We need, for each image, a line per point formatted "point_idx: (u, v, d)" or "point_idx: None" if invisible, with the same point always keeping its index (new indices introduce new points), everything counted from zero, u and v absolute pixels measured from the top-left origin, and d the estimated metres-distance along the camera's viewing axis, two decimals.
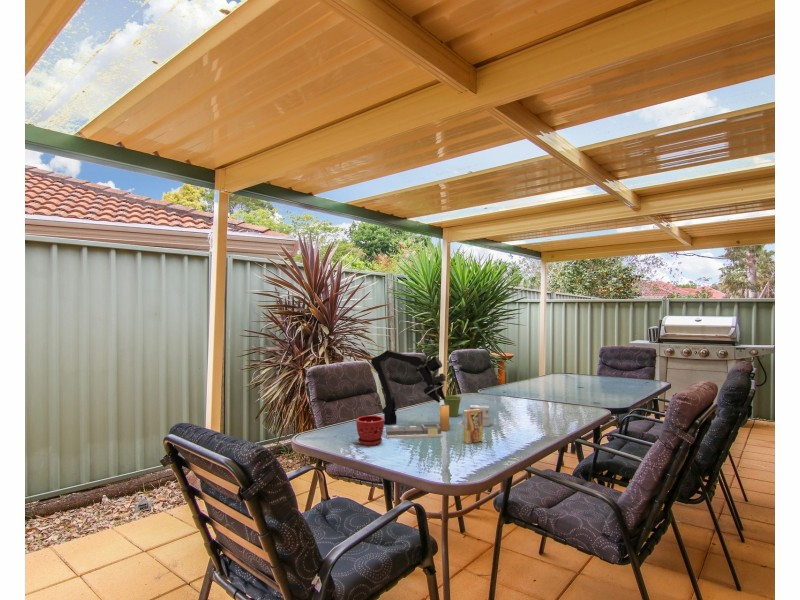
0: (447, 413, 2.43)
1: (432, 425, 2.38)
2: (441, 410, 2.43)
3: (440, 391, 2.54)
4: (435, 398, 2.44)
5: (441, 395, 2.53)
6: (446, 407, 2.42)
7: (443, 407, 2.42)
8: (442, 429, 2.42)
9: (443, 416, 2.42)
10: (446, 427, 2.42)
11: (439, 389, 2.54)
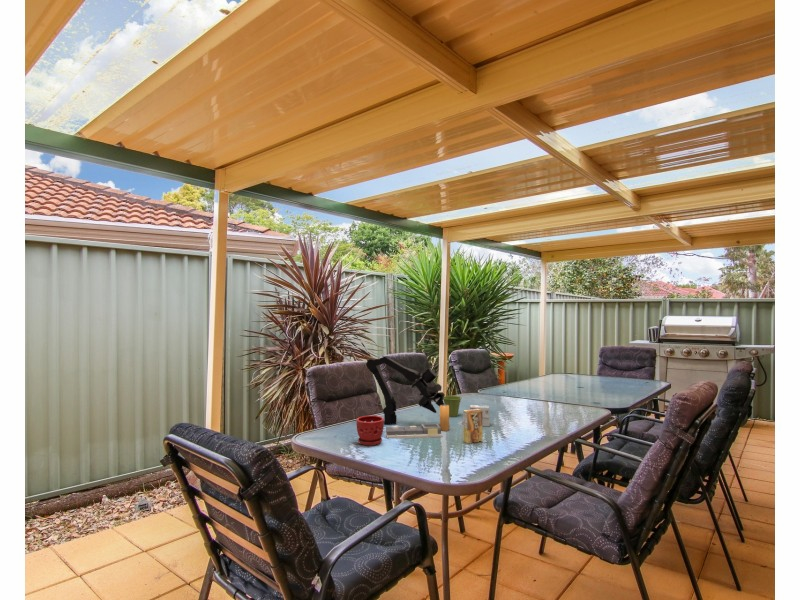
0: (447, 413, 2.43)
1: (432, 425, 2.38)
2: (441, 410, 2.43)
3: (440, 402, 2.52)
4: (431, 409, 2.43)
5: None
6: (446, 407, 2.42)
7: (443, 407, 2.42)
8: (442, 429, 2.42)
9: (443, 416, 2.42)
10: (446, 427, 2.42)
11: (439, 400, 2.53)
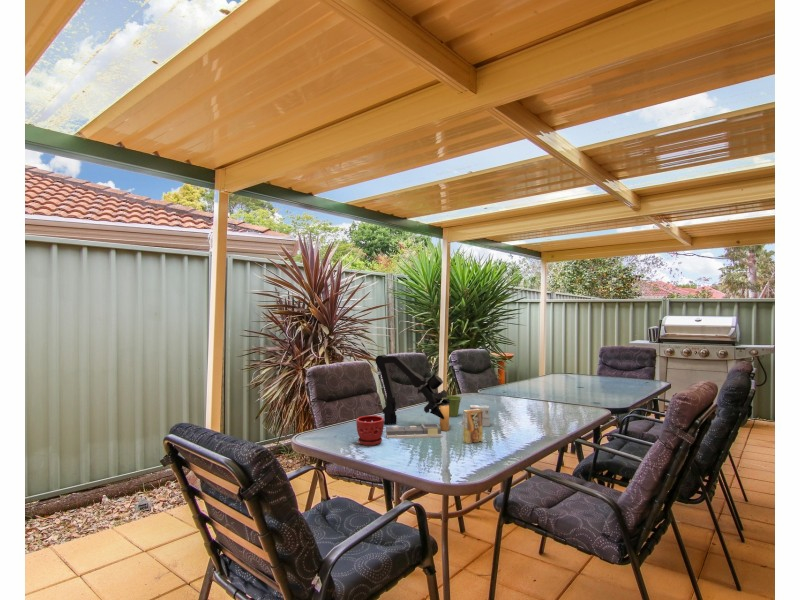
0: (447, 413, 2.43)
1: (432, 425, 2.38)
2: (441, 410, 2.43)
3: None
4: (439, 415, 2.42)
5: None
6: (446, 407, 2.42)
7: (443, 407, 2.42)
8: (442, 429, 2.42)
9: None
10: (446, 427, 2.42)
11: None
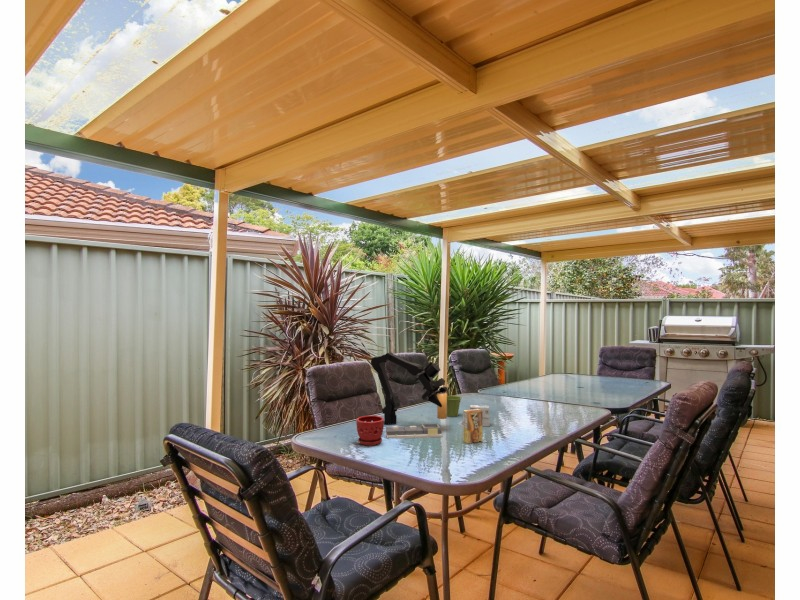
0: (445, 401, 2.41)
1: (432, 425, 2.38)
2: (439, 398, 2.42)
3: None
4: (436, 403, 2.41)
5: None
6: (444, 395, 2.41)
7: (441, 395, 2.41)
8: (440, 417, 2.41)
9: None
10: (444, 415, 2.41)
11: None
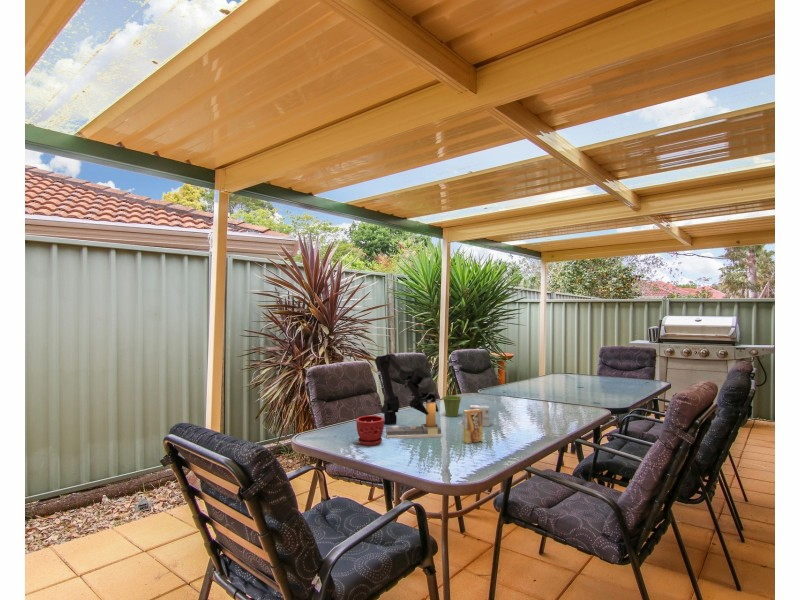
0: (434, 411, 2.33)
1: None
2: (427, 407, 2.34)
3: None
4: (422, 411, 2.31)
5: None
6: (433, 404, 2.33)
7: (429, 404, 2.33)
8: None
9: (429, 413, 2.33)
10: (432, 425, 2.33)
11: (432, 401, 2.41)
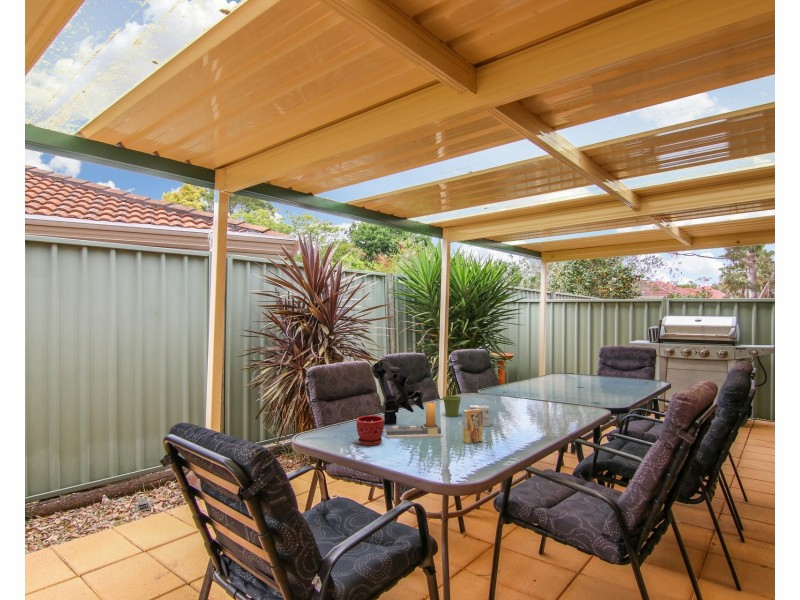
0: (433, 411, 2.33)
1: None
2: (427, 407, 2.34)
3: (418, 401, 2.46)
4: (408, 408, 2.37)
5: (420, 406, 2.45)
6: (432, 404, 2.33)
7: (429, 404, 2.33)
8: None
9: (429, 413, 2.33)
10: (432, 425, 2.33)
11: (417, 399, 2.47)
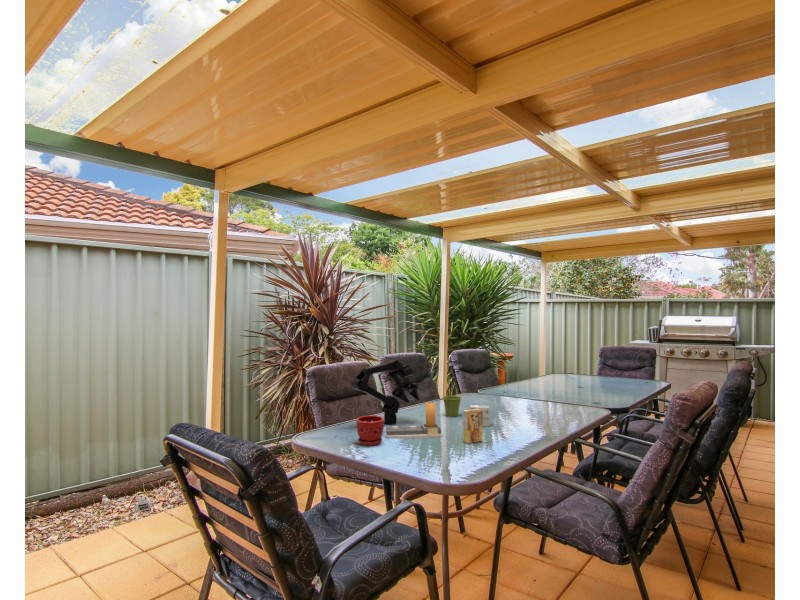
0: (433, 411, 2.33)
1: None
2: (427, 407, 2.34)
3: (414, 393, 2.60)
4: (404, 399, 2.52)
5: (415, 397, 2.60)
6: (432, 404, 2.33)
7: (429, 404, 2.33)
8: None
9: (429, 413, 2.33)
10: (432, 425, 2.33)
11: (413, 391, 2.61)
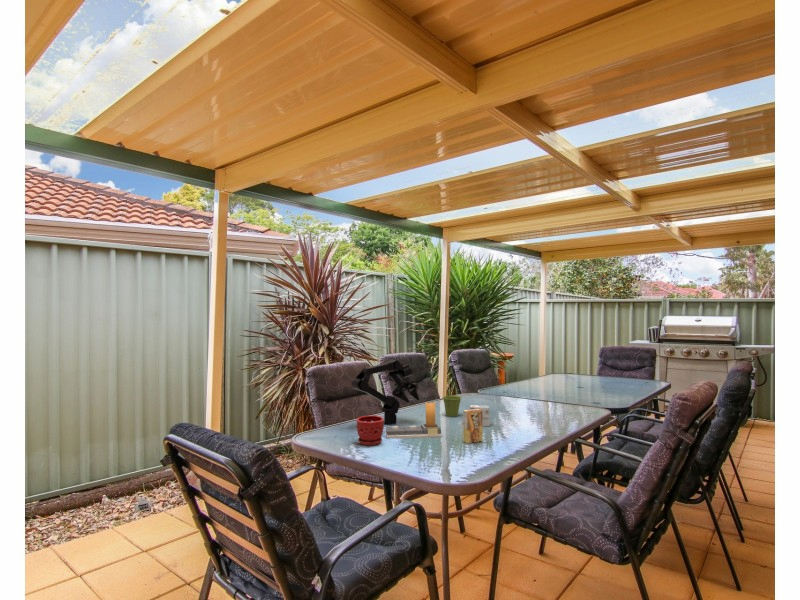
0: (433, 411, 2.33)
1: None
2: (427, 407, 2.34)
3: (414, 393, 2.60)
4: (404, 399, 2.52)
5: (415, 397, 2.60)
6: (432, 404, 2.33)
7: (429, 404, 2.33)
8: None
9: (429, 413, 2.33)
10: (432, 425, 2.33)
11: (413, 391, 2.61)
